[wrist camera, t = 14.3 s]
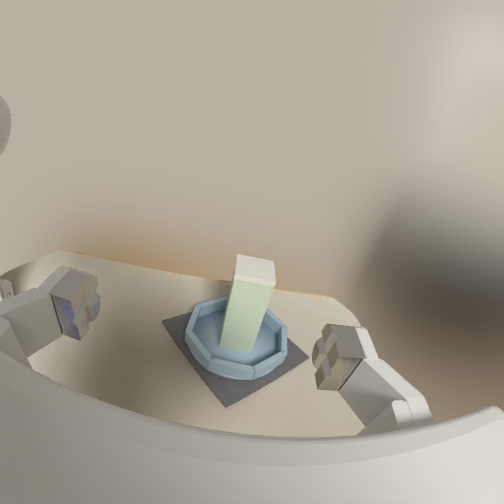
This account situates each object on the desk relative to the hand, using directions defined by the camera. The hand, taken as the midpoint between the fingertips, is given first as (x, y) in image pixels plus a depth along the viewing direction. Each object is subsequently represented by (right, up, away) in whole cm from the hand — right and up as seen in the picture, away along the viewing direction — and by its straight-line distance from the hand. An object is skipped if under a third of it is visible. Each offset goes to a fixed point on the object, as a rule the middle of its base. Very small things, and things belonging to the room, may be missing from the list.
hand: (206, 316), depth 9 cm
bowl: (-1, -14, +38) cm, 41 cm away
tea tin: (-1, -13, +38) cm, 40 cm away
